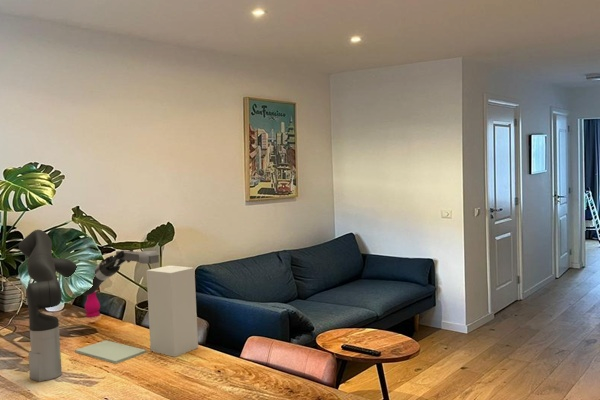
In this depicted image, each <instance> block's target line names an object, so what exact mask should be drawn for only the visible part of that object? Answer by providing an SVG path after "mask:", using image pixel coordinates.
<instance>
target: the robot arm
mask: <svg viewBox="0 0 600 400" xmlns="http://www.w3.org/2000/svg"><path fill="white" fill-rule="evenodd" d="M18 249H19V250H20V252H21V254H23V255H24V256H26V258H28V259H27V265H26V266H27V273H28V276H29V277H30V278H31V279H32V280H33V281H34V282H30V283H29V284H27V286H26V301H27V308H28V320H29V321H28V323H29V326H28V327H29V338H30V339H29V340H30V351H28V363H29V365H28V366H29V379H31V380H34V381H36V382H43V381H44V382H45V381H50V380H53V379H56V378H58V377H60V376H61V375H62V374H63V372H62V355H61V341H60V339H61V337H60V322H59V318H58V317H57V316H55V315H50V314H46V313H45V314H44V313H42V312H41V311H39V310H42V309H47V308H48V309H49V308H54V307H57V306H59V305H60V304H61V302H62V298H63V293H62V288H61V285H60V282H59V279H58V277H57V274H59V275H61V276H62V277H64V278H65V277H69V276H71V275H72V274H73V273H74V272H75V270H76V268H77V266H78V265H77V263H74V261H72V260H70V259H67V258H62V257H60V258H59V257H53V253H52V251H53V243H52V239H51V238H50V236H49V234H47V232H45V231H44V230H42V229H35V230H33V231H32V232H30V233H29V234H28V235H27V236H25V237H24V238H23V239H22V240H21V241H20V242H18ZM120 251H121V252H120V253H118V254H116V253H115V254H114V255H109V256H107V257H106V258H104V259H103V260H101V262H99V263H98V264H97V266H95V267H96V268H95V267H94V268H95V274H96V275H95V277H94V279H93V286H92V288H91V289H89V290H88V291H86V292H85V293H84V294H81V295H82V296H87V295H91V294H93V293H94V292H95V291H96V290H97V291H98V288H99V287H100V286H101V285H102V283H104V282H105V281H106V280H108V279H110V278H111V277H112V276H114V275H115V274H117V272H118V273H119V271H120V268H121V266H122V265H123V264H125V263H126V262H127V263H131V261H129V260H123V259H121V258H122V257H123V256H124V255H125V254H124V251H122V250H120ZM128 251H134V250H133V249H129V250H128ZM76 265H77V266H76ZM97 291H96V292H97Z"/></svg>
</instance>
